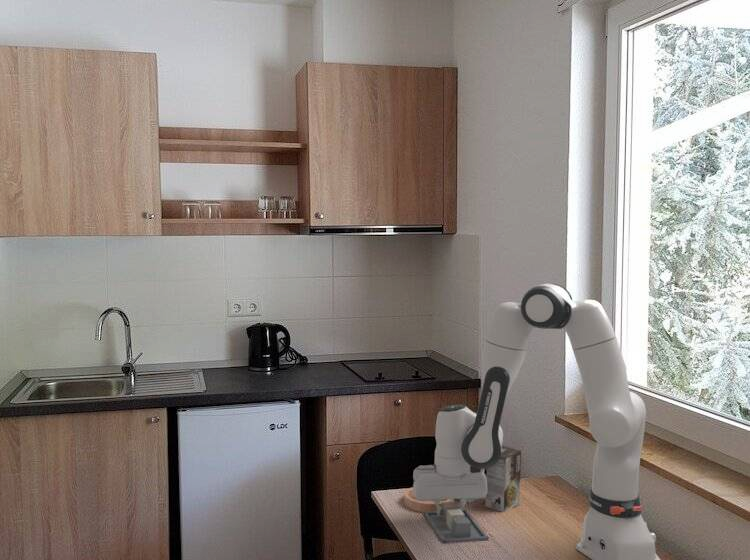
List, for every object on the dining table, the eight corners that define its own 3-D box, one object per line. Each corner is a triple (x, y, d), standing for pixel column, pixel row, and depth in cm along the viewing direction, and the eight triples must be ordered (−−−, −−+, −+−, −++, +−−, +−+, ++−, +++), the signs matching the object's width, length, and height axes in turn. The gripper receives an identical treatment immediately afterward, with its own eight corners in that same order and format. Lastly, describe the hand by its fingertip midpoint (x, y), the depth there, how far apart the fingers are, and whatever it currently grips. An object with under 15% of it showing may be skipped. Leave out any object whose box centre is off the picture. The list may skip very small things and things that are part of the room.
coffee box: (500, 499, 231) (502, 445, 229) (520, 504, 226) (522, 450, 225) (484, 508, 224) (486, 452, 222) (504, 514, 219) (506, 457, 218)
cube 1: (457, 520, 213) (458, 506, 212) (444, 521, 212) (444, 507, 212) (453, 515, 216) (454, 501, 216) (440, 516, 215) (441, 502, 215)
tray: (488, 541, 201) (488, 537, 201) (442, 544, 199) (442, 540, 199) (466, 513, 219) (466, 509, 219) (424, 516, 217) (424, 511, 216)
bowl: (460, 512, 219) (460, 502, 219) (411, 515, 217) (411, 505, 216) (445, 494, 233) (446, 484, 233) (399, 497, 230) (399, 487, 230)
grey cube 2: (470, 537, 202) (471, 522, 202) (456, 538, 201) (456, 523, 201) (466, 532, 205) (466, 517, 205) (452, 532, 205) (452, 518, 204)
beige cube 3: (464, 529, 207) (464, 514, 207) (450, 529, 207) (450, 515, 206) (459, 523, 211) (460, 509, 210) (446, 524, 210) (446, 509, 210)
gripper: (416, 469, 208) (414, 520, 209) (490, 466, 212) (488, 516, 213) (410, 462, 214) (409, 511, 215) (482, 458, 218) (480, 507, 219)
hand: (449, 513), depth 214 cm, fingers closed on cube 1, 4 cm apart
